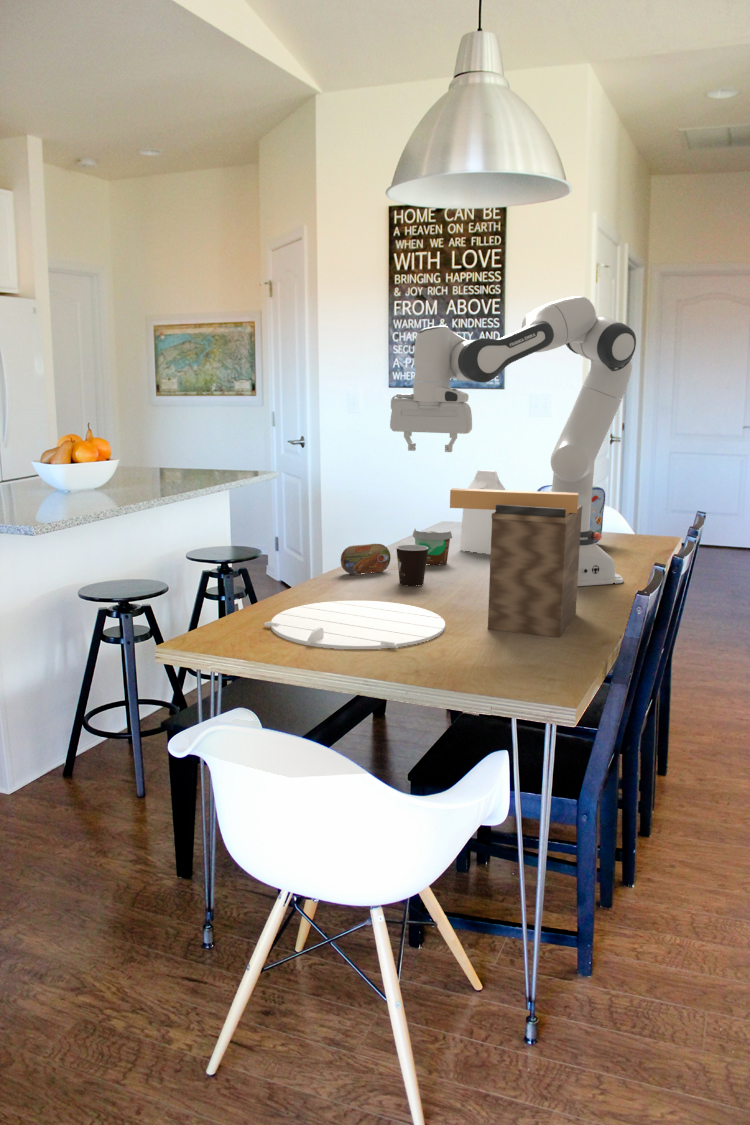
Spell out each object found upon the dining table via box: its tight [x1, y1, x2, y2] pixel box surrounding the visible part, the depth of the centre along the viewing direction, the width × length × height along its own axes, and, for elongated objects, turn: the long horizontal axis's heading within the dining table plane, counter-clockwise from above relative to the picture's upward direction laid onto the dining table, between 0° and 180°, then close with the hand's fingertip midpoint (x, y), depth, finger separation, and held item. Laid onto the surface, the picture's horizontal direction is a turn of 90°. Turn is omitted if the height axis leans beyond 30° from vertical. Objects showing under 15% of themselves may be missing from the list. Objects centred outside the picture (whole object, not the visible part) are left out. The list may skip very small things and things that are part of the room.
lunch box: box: [536, 484, 606, 544], centre depth 308 cm, size 28×10×22 cm, turn 123°
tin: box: [340, 543, 391, 576], centre depth 261 cm, size 15×3×8 cm, turn 117°
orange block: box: [449, 487, 578, 513], centre depth 204 cm, size 28×4×4 cm, turn 78°
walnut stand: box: [487, 504, 582, 638], centre depth 209 cm, size 16×23×28 cm
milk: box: [459, 469, 506, 555], centre depth 297 cm, size 12×12×26 cm
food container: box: [412, 528, 453, 566], centre depth 275 cm, size 12×6×10 cm, turn 68°
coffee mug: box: [395, 544, 428, 587], centre depth 249 cm, size 12×9×10 cm
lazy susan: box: [263, 600, 446, 650], centre depth 206 cm, size 40×39×3 cm
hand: (430, 451), depth 225 cm, fingers open, 8 cm apart
